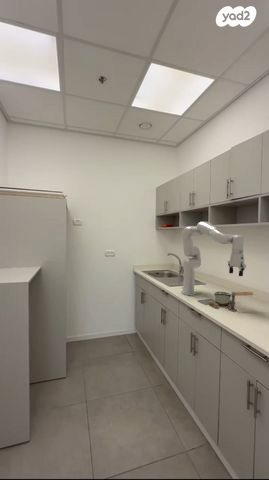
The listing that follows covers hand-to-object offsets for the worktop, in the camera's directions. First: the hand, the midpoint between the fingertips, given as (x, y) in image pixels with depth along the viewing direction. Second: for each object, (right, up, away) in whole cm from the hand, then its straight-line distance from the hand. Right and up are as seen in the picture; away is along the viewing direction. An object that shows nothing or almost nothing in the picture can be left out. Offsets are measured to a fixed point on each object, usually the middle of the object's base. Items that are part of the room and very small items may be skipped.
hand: (235, 274), depth 169 cm
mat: (-16, -24, +12) cm, 31 cm away
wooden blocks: (-7, -25, +1) cm, 26 cm away
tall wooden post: (+3, -14, -4) cm, 15 cm away
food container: (-9, -25, +5) cm, 27 cm away
